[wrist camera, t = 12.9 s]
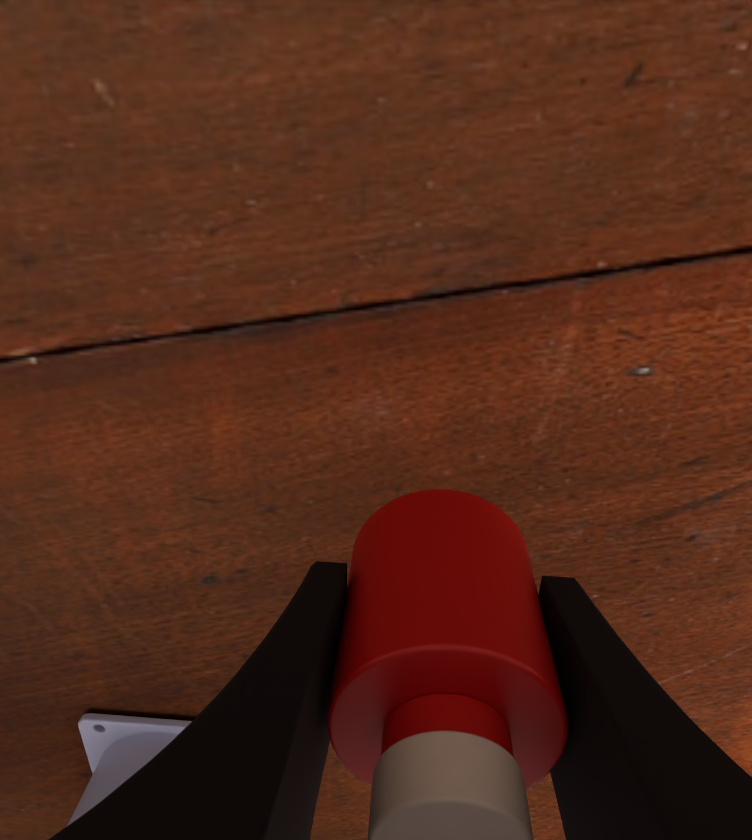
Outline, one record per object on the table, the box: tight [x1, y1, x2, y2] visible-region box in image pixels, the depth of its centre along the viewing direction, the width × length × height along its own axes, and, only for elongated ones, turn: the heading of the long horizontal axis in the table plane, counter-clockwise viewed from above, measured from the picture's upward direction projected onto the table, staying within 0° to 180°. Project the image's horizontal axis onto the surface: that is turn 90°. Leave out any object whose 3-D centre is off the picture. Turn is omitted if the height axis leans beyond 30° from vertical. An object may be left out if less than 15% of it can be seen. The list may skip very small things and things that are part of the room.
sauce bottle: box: [327, 490, 569, 840], centre depth 11 cm, size 4×4×6 cm
